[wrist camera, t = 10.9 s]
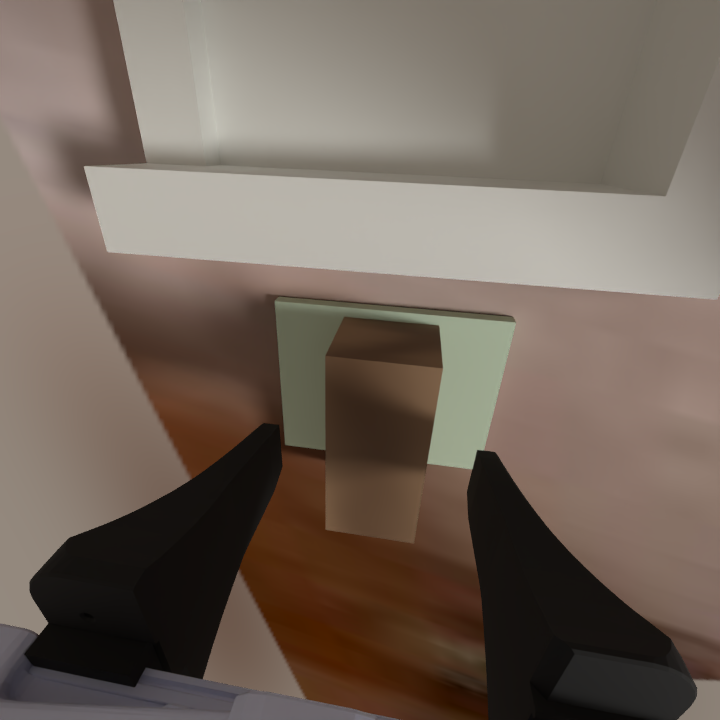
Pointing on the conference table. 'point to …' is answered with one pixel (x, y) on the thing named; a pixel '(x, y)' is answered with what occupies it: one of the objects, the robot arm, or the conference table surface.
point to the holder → (427, 139)
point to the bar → (379, 424)
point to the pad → (458, 383)
